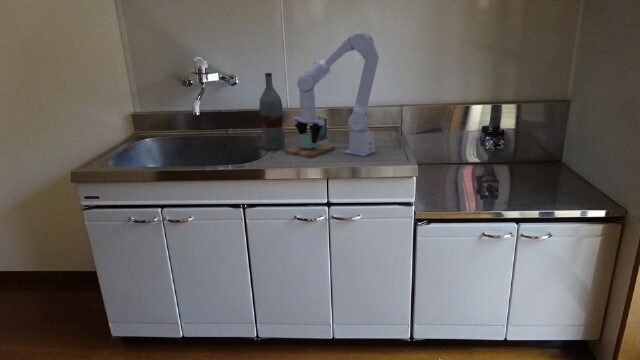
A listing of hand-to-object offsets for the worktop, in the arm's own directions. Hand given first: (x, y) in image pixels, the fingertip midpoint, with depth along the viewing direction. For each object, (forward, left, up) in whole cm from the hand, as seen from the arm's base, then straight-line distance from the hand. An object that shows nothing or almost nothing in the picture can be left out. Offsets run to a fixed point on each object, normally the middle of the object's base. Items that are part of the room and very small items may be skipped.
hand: (309, 141), depth 172 cm
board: (0, 0, -4) cm, 4 cm away
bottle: (+17, +3, -4) cm, 18 cm away
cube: (0, 0, -2) cm, 2 cm away
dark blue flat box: (+9, -17, -4) cm, 20 cm away
